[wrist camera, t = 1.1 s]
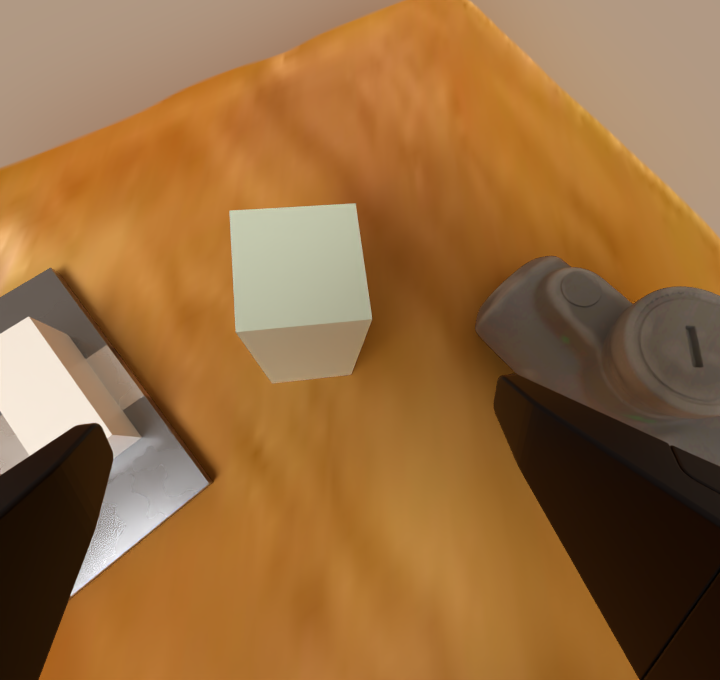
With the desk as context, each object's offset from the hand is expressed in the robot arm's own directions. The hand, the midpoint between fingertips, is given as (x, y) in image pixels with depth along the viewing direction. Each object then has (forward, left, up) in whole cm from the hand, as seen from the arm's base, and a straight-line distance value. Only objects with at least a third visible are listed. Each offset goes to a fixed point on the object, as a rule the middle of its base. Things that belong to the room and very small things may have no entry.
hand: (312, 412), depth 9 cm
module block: (+4, +3, -13) cm, 14 cm away
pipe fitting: (+10, -10, -14) cm, 20 cm away
